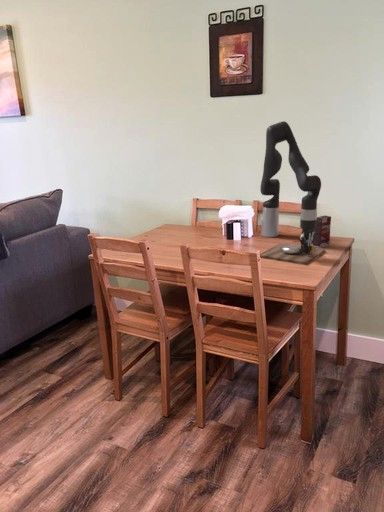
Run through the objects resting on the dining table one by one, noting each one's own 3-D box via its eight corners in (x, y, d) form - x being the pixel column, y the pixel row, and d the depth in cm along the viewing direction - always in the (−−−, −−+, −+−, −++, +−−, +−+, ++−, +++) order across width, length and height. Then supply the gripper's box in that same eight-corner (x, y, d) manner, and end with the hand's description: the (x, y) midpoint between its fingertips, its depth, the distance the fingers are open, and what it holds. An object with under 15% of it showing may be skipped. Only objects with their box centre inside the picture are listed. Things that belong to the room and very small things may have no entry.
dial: (279, 252, 213) (279, 245, 212) (285, 247, 221) (285, 240, 220) (310, 256, 205) (310, 248, 204) (315, 250, 214) (315, 243, 213)
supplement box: (320, 248, 223) (321, 218, 219) (312, 246, 227) (313, 217, 222) (330, 245, 228) (331, 216, 224) (322, 243, 232) (323, 215, 227)
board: (258, 257, 213) (258, 253, 212) (280, 245, 232) (280, 242, 231) (306, 264, 198) (306, 261, 198) (325, 251, 217) (325, 248, 217)
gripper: (307, 221, 196) (306, 257, 201) (323, 217, 204) (321, 251, 209) (293, 219, 201) (292, 254, 206) (309, 215, 210) (308, 249, 214)
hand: (307, 253), depth 207 cm, fingers closed
